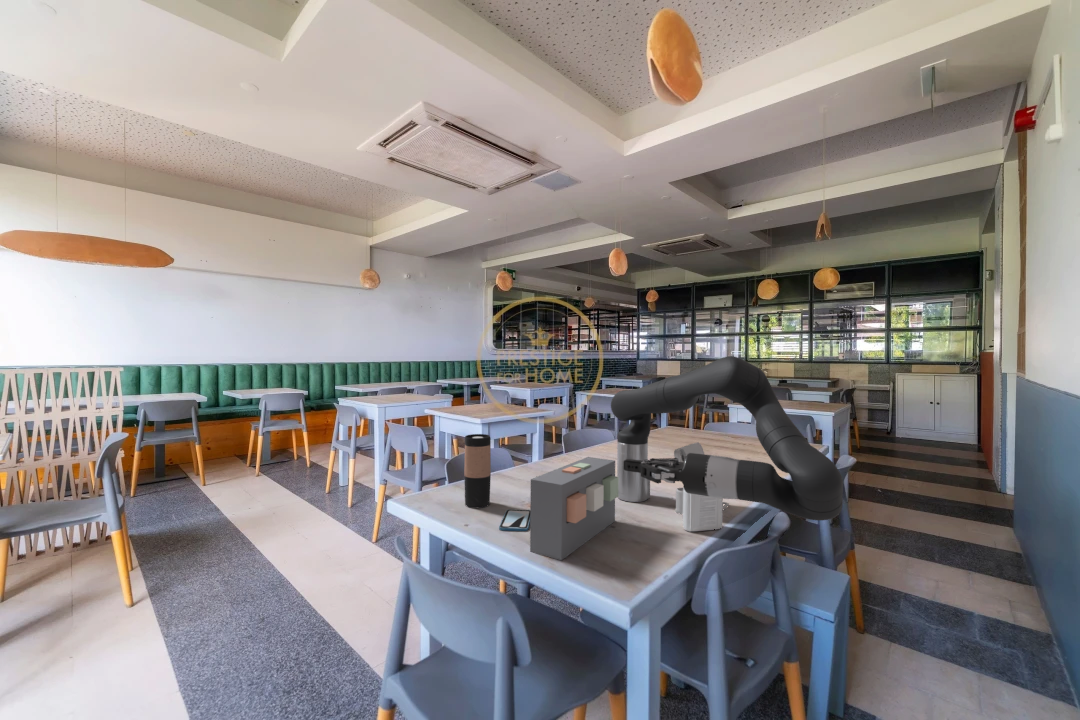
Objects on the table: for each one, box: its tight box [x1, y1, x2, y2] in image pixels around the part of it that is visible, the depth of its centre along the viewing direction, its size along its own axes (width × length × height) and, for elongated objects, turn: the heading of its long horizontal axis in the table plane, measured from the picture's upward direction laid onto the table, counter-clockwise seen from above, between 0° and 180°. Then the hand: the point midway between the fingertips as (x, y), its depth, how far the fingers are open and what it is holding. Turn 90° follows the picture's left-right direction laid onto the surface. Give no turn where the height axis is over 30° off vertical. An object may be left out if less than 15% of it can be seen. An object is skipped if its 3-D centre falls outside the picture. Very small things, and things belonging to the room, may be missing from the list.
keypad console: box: [529, 456, 616, 561], centre depth 109 cm, size 8×28×16 cm, turn 147°
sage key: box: [602, 475, 619, 501], centre depth 114 cm, size 4×5×5 cm
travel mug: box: [463, 433, 492, 508], centre depth 131 cm, size 8×8×20 cm
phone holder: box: [673, 441, 730, 515], centre depth 129 cm, size 17×10×18 cm, turn 139°
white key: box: [586, 483, 604, 511], centre depth 107 cm, size 4×5×5 cm
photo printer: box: [682, 487, 724, 533], centre depth 114 cm, size 10×4×12 cm, turn 106°
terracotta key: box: [567, 492, 586, 523], centre depth 99 cm, size 4×5×5 cm
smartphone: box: [498, 508, 530, 532], centre depth 119 cm, size 7×1×15 cm
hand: (624, 464), depth 92 cm, fingers closed
